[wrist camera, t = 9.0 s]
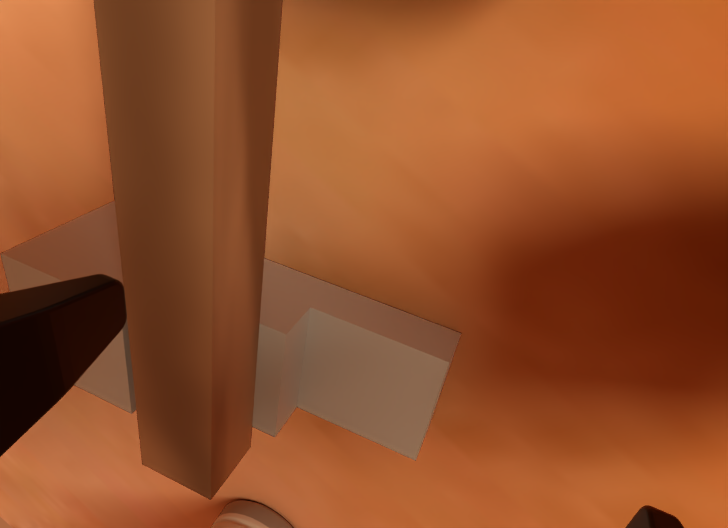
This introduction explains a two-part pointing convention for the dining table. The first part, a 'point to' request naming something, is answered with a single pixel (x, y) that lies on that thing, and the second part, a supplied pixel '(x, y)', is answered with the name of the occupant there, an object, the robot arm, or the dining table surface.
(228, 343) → the walnut bar
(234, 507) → the travel mug
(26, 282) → the notch rack
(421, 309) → the dining table surface
